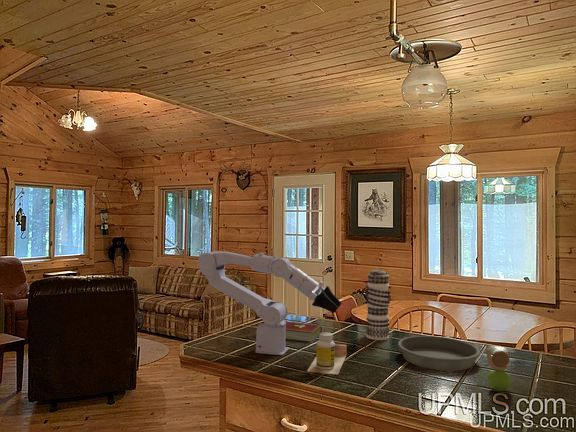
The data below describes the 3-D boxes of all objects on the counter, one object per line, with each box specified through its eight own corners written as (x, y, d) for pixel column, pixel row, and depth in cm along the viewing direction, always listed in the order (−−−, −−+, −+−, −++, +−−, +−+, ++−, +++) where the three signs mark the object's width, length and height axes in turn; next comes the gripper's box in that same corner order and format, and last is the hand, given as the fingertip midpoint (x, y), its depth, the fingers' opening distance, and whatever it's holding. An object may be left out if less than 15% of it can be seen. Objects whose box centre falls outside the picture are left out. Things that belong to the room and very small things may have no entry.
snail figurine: (480, 387, 115) (480, 341, 115) (503, 386, 116) (503, 341, 116) (491, 395, 110) (491, 347, 110) (515, 394, 110) (515, 347, 111)
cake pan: (383, 359, 138) (383, 345, 138) (419, 344, 156) (419, 331, 156) (461, 379, 121) (461, 363, 121) (491, 360, 139) (491, 346, 139)
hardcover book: (271, 329, 175) (271, 319, 175) (321, 335, 167) (321, 324, 167) (259, 336, 163) (259, 325, 163) (312, 343, 156) (312, 331, 156)
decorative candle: (371, 332, 170) (372, 268, 171) (393, 336, 165) (394, 270, 165) (360, 337, 163) (361, 270, 163) (384, 341, 157) (385, 272, 158)
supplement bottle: (333, 370, 125) (334, 336, 125) (315, 369, 126) (315, 335, 126) (335, 364, 131) (335, 332, 131) (317, 363, 132) (317, 331, 132)
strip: (306, 371, 125) (307, 360, 125) (319, 351, 144) (319, 342, 144) (338, 375, 123) (338, 363, 123) (346, 354, 142) (346, 344, 142)
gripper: (305, 275, 134) (341, 301, 131) (314, 270, 148) (347, 294, 145) (293, 294, 135) (329, 320, 132) (303, 287, 149) (336, 311, 146)
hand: (338, 308), depth 139 cm, fingers open, 7 cm apart
